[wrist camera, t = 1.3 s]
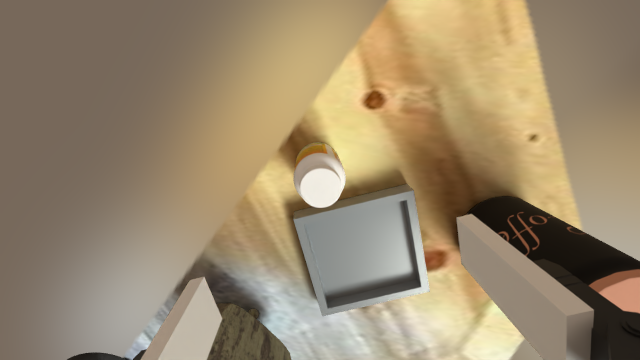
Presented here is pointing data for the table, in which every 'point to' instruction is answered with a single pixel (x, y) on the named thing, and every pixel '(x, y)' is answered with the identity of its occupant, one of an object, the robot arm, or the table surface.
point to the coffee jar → (564, 248)
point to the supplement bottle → (319, 175)
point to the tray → (363, 249)
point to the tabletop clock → (244, 337)
